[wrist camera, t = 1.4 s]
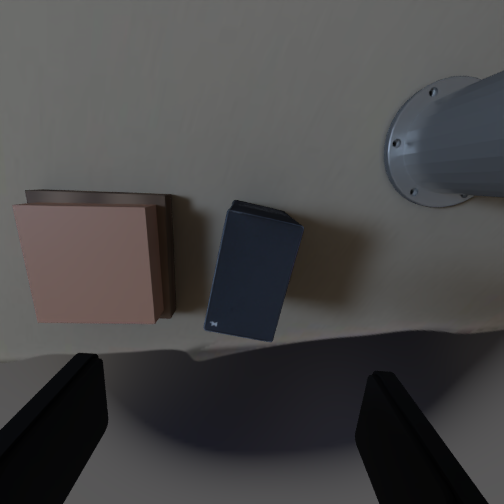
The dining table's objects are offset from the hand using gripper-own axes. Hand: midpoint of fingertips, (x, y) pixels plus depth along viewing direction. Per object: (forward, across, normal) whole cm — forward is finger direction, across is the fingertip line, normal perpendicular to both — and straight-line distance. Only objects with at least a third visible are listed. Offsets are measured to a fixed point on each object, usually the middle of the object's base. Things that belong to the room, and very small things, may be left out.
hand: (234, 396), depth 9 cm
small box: (+23, 0, +1) cm, 23 cm away
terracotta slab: (+20, +15, +2) cm, 25 cm away
